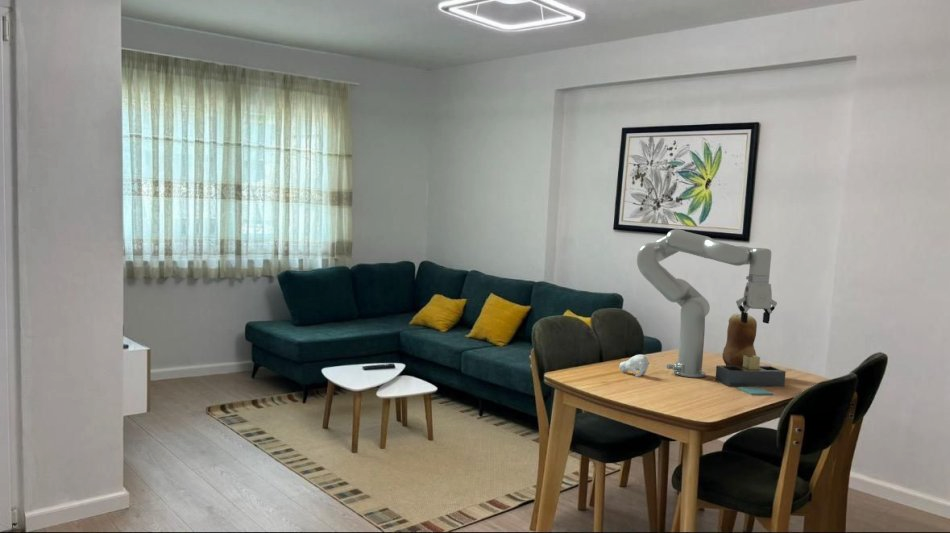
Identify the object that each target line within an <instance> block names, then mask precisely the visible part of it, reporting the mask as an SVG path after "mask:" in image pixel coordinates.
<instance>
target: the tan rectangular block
mask: <svg viewBox="0 0 950 533" xmlns="http://www.w3.org/2000/svg"><path fill="white" fill-rule="evenodd" d="M760 361H761V357H760V356H758V355H756V356H755V355H744V357H743V368H744V369H747V370H759V366H761V365H760V364H761V362H760Z"/></svg>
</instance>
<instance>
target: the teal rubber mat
mask: <svg viewBox="0 0 950 533" xmlns="http://www.w3.org/2000/svg"><path fill="white" fill-rule="evenodd" d="M737 390H739V391H742V392H743V393H746V394H747V395H750V394H751V395H750V396H774V393H773V392H771V391H769V390H766V389H764V388H762V387H737Z"/></svg>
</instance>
